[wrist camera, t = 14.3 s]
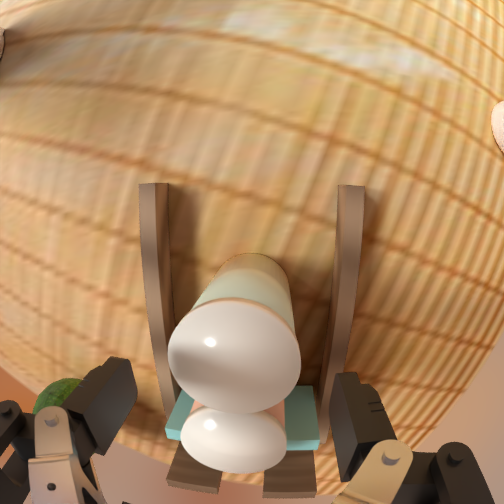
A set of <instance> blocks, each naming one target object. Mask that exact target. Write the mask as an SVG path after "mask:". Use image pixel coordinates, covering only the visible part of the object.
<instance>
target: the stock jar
mask: <svg viewBox="0 0 504 504" xmlns="http://www.w3.org/2000/svg"><path fill="white" fill-rule="evenodd" d="M180 438H181V442H182V445H183V447H184V448H185V450H186V451H187V452H188V453H189V454H190V455H191V456H192V457H193V458H194V459H195V460H197V461H199V462H200V463H202V464H204V465H206V466H208V467H210V468H213V469H216V470H220V471H224V472H229V473H255V472H260V471H263V470H266V469H269V468H271V467H273V466H275V465H276V464H278V463H279V462H280V461H281V460H282V459H283V457H284V456H285V454H286V450H287V437H286V431H285V415H284V399H283V400H282V401H281V402H279V403H278V404H276V405H274V406H272V407H270V408H268V409H265V410H262V411H259V412H254V413H246V414H234V413H226V412H222V411H218V410H215V409H212V408H209V407H207V406H205V405H203V404H201V403H199V402H198V401H196V400H195V401H194V403H193V406H192V409H191V411H190V414H189V415H188V416H187V418H186V420H185V422H184V425H183V428H182V431H181V436H180Z"/></svg>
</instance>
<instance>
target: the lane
mask: <svg viewBox="0 0 504 504" xmlns="http://www.w3.org/2000/svg"><path fill="white" fill-rule="evenodd" d="M364 193H365V186H353V185H338V207H337V227H336V243H335V257H334V269H333V280H332V291H331V300H330V309H329V318H328V326H327V333H326V341H325V348H324V355H323V361H322V368H321V374H320V380H319V386H318V391H317V397H316V402H315V406H316V413H317V420H318V428H319V435H320V442H319V444H325V443H326V440H327V436H328V432H329V429H330V425H331V424H330V419H329V402H330V397H331V392H332V387H333V382H334V377H335V374H336V373H343V370H344V365H345V360H346V354H347V349H348V344H349V338H350V332H351V326H352V319H353V313H354V306H355V299H356V291H357V283H358V274H359V265H360V255H361V244H362V231H363V215H364ZM139 217H140V238H141V254H142V267H143V278H144V288H145V297H146V306H147V314H148V321H149V329H150V335H151V342H152V348H153V354H154V360H155V366H156V371H157V376H158V382H159V387H160V391H161V396H162V401H163V405H164V410H165V414H166V418H167V422H168V419H169V417H170V415H171V413H172V411H173V408H174V406H175V404H176V402H177V399H178V397H179V395H180V393H181V390H182V388H181V387H180V385H179V384H178V383H177V381H176V380H175V378H174V376H173V374H172V372H171V369H170V366H169V362H168V345H169V341H170V338H171V336H172V333H173V332H174V330H175V329H176V327H175V317H174V306H173V295H172V281H171V266H170V247H169V220H168V183H148V184H139ZM222 472H223V471H220V470H216V469H213V468H210V467H208V466H206V465H204V464H202V463H200V462H199V461H197V460H195V459H194V458H193V457H192V456H191V455H190V454H189V453H188V452H187V451H186V450H185V448H184V447H183V445H182V442H181V441H180V443H179V445H178V448H177V451H176V453H175V456H174V459H173V461H172V464H171V467H170V470H169V473H168V475H167V478H166V480H167V483H168V485H169V486H172V487H177V488H182V489H187V490H193V491H199V492H205V493H212V494H218V492H219V487H220V482H221V477H222ZM316 492H317V487H316V475H315V464H314V454H313V450H286V454H285V456H284V457H283V459H282V460H281V461H280V462H279V463H278V464H276V465H275V466H273V467H271V468H269V469H266V470H265V471H264V485H263V498H314V497H315V495H316Z"/></svg>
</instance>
